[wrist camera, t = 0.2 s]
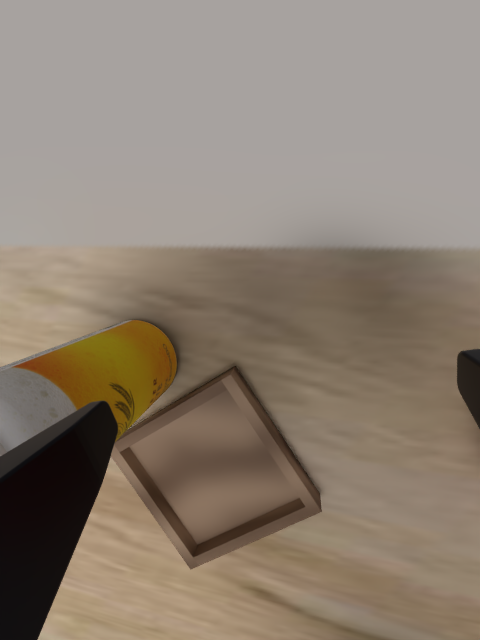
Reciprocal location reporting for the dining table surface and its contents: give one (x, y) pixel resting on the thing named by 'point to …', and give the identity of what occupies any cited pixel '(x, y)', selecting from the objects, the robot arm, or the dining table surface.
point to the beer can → (86, 380)
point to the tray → (215, 471)
